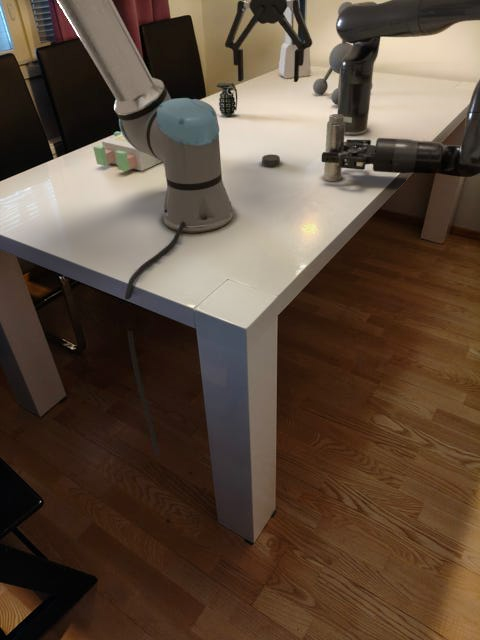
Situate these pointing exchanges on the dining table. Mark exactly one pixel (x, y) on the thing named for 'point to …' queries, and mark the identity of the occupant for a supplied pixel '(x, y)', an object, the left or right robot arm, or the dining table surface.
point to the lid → (270, 160)
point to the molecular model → (334, 65)
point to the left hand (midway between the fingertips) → (268, 80)
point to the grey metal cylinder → (334, 145)
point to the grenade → (227, 99)
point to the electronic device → (294, 48)
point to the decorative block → (123, 154)
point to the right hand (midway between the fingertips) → (324, 152)
